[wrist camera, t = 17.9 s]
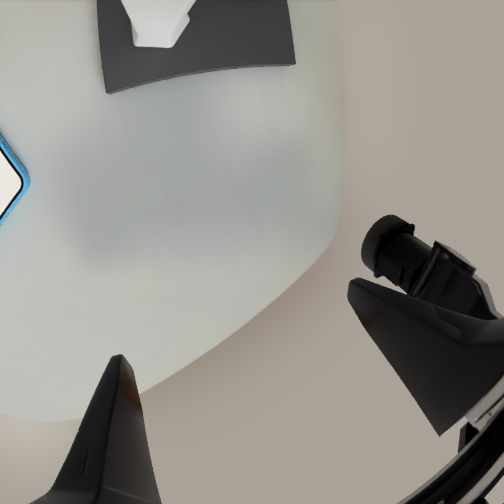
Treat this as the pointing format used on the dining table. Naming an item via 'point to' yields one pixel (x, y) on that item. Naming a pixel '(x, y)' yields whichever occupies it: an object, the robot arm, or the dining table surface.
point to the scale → (196, 42)
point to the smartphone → (10, 180)
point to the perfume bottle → (157, 21)
